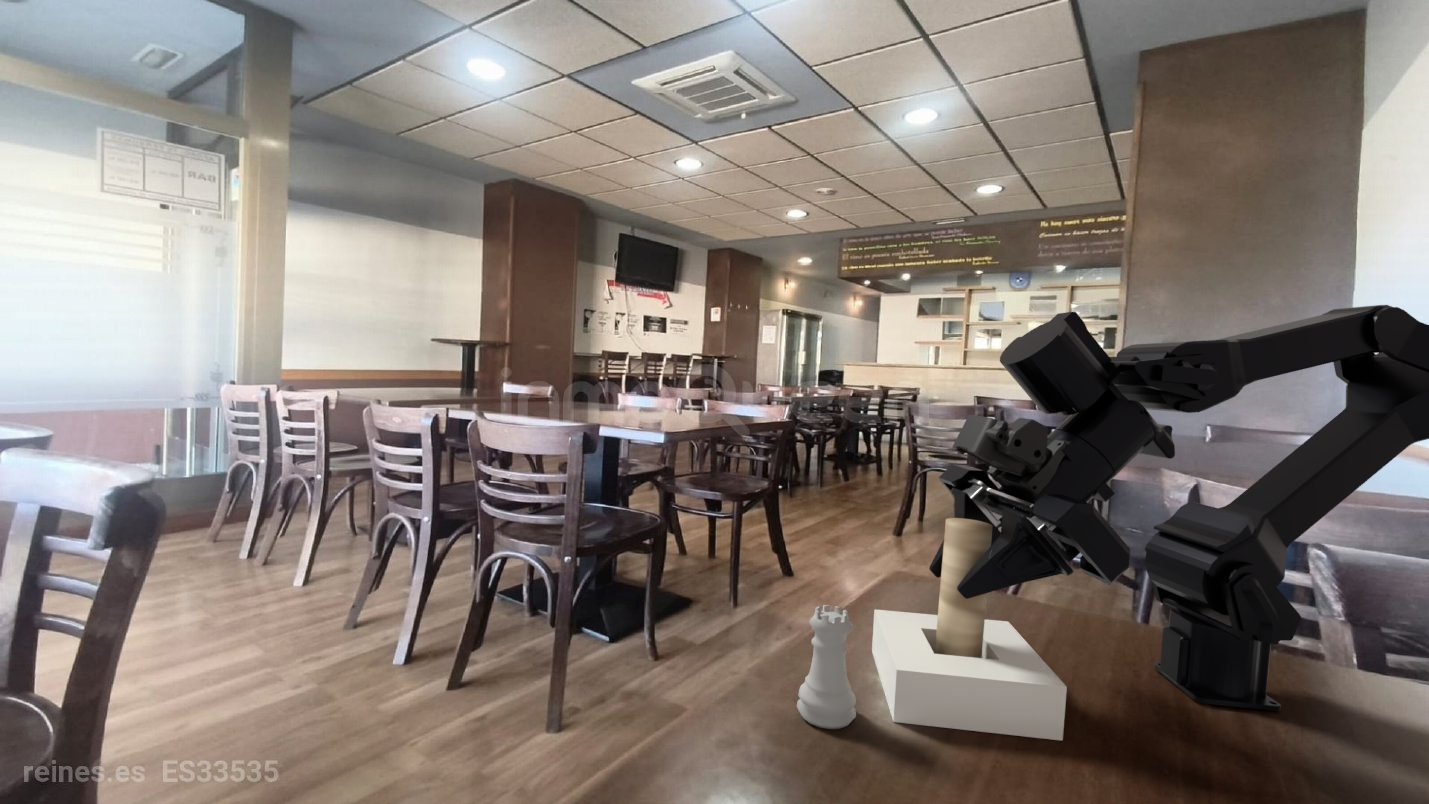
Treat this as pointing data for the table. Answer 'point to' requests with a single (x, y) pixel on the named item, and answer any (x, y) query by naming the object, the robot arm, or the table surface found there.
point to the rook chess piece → (828, 673)
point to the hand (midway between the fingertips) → (946, 583)
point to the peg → (955, 613)
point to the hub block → (966, 679)
